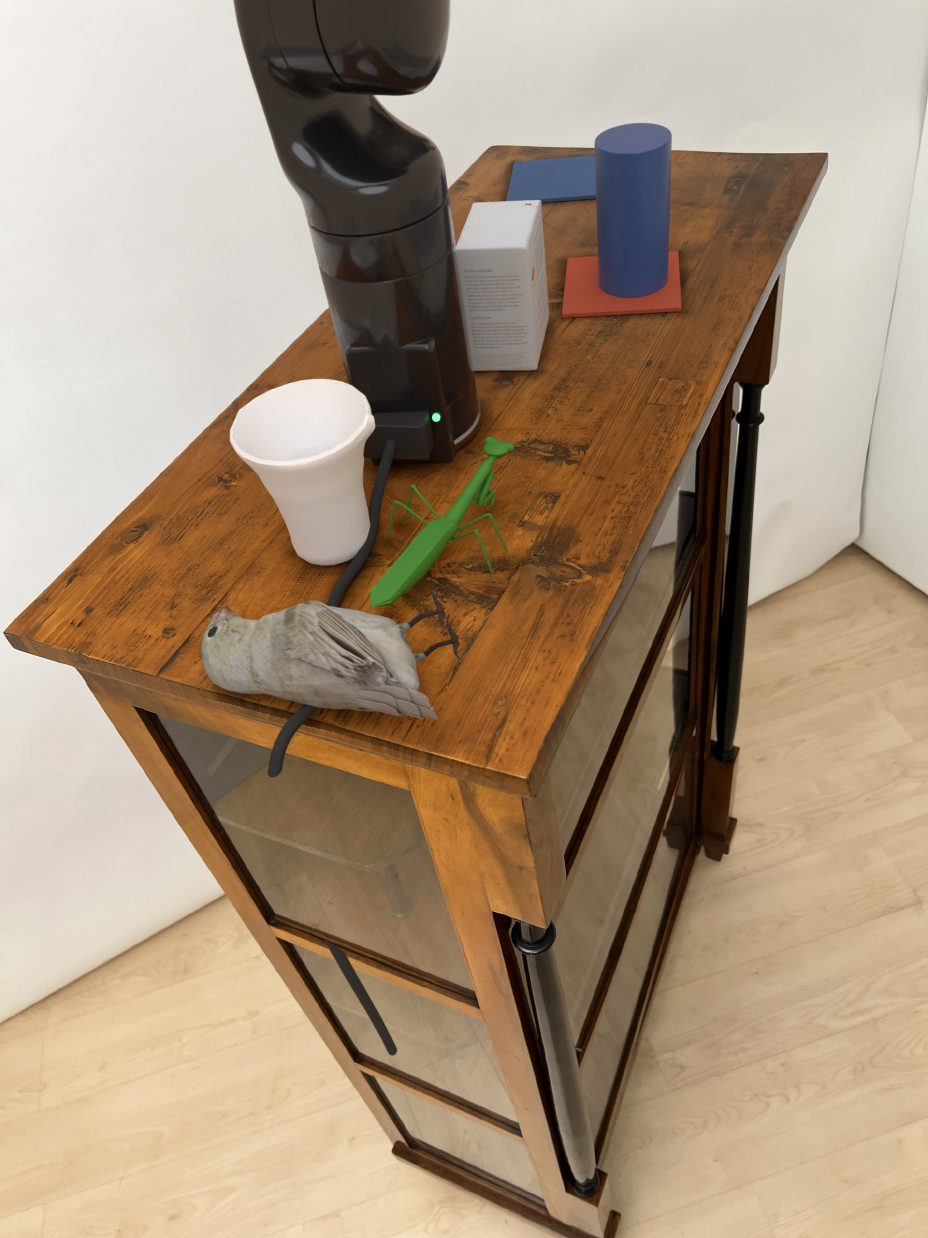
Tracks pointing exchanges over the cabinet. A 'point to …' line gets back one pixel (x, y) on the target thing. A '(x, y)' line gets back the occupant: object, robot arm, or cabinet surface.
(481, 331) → the small box
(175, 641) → the cabinet surface
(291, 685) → the decorative bird
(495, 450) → the praying mantis
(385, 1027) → the robot arm
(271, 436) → the cup
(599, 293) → the terracotta mat
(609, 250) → the blue can
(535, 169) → the blue mat
